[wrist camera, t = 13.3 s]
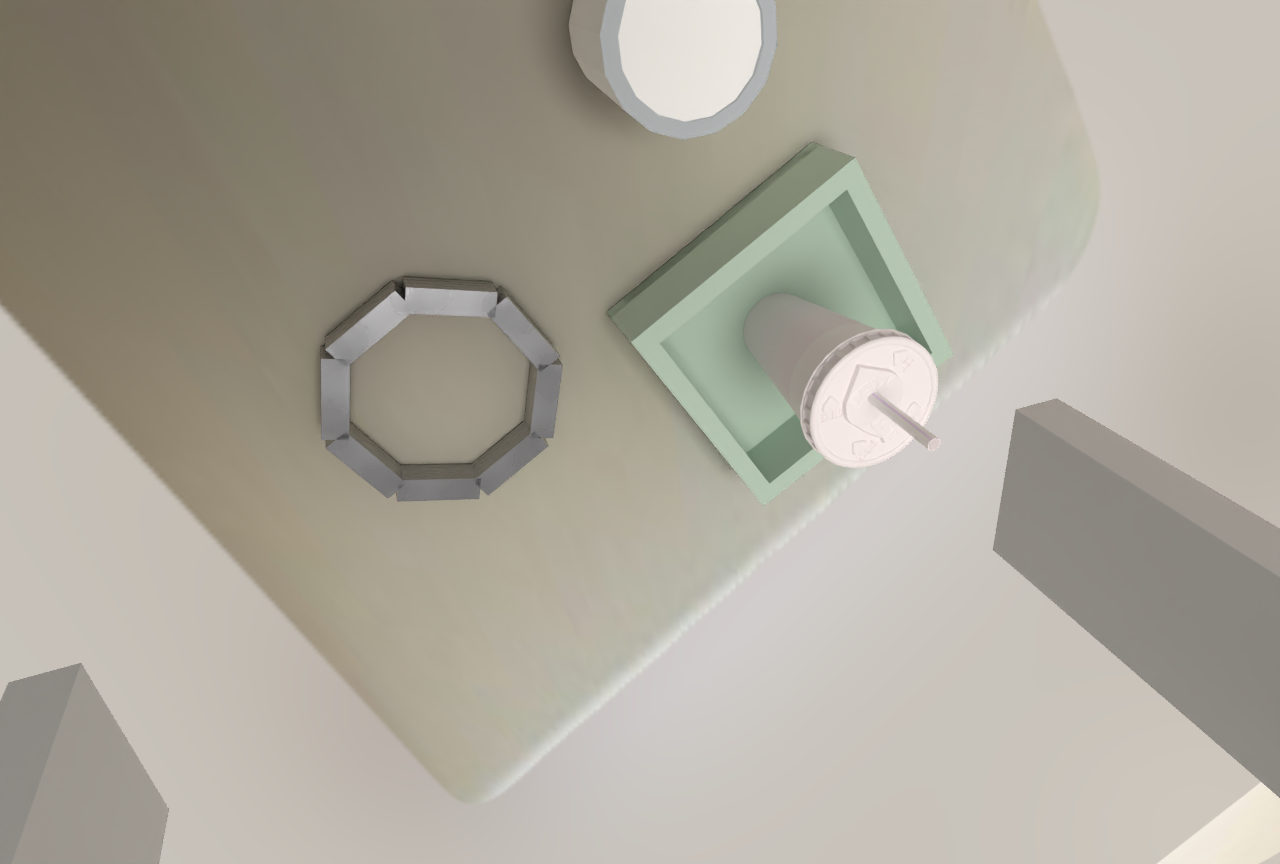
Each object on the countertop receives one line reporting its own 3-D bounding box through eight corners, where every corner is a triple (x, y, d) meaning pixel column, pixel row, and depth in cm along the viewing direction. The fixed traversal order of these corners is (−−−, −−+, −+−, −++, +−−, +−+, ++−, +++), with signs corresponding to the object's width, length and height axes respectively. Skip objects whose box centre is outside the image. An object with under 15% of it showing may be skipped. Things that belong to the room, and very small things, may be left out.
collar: (267, 385, 38) (265, 399, 36) (451, 230, 37) (455, 239, 36) (433, 521, 44) (436, 537, 43) (593, 390, 43) (601, 402, 42)
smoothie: (803, 242, 42) (986, 346, 31) (845, 337, 46) (1023, 462, 34) (699, 314, 42) (842, 445, 31) (749, 403, 46) (894, 551, 34)
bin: (606, 312, 41) (630, 342, 38) (811, 142, 41) (855, 157, 37) (733, 469, 49) (763, 506, 45) (909, 327, 48) (953, 353, 45)
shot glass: (665, 139, 38) (726, 169, 32) (528, 71, 35) (570, 91, 29) (733, -14, 36) (811, -10, 30) (594, -100, 33) (653, -115, 27)
